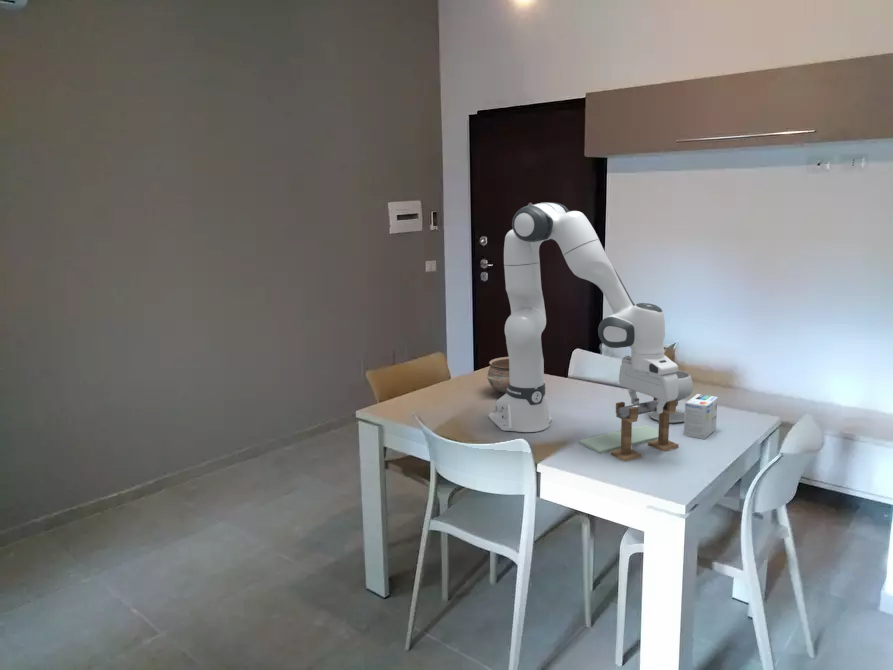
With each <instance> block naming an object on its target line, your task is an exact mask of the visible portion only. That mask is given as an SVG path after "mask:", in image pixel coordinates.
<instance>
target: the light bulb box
mask: <svg viewBox="0 0 893 670" xmlns="http://www.w3.org/2000/svg"><path fill="white" fill-rule="evenodd" d="M718 398H719V397H718V396H713V395H706V394H701V393H696V394H695V395H694V396H692V397H691V398H690V399H689V400H687V401H685V402H684V414H685V420H684V422H683V423H684V425H683V426H684V427H683V436H686V437H690V438H691V437H692V438H696V439H700V440H701V439H702V440H706V439H707V438H708V436H710V435H711V434H712V433H713V432H715V431H716V430H717V416H718V401H719V400H718Z"/></svg>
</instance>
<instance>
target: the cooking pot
mask: <svg viewBox="0 0 893 670" xmlns="http://www.w3.org/2000/svg"><path fill="white" fill-rule="evenodd" d="M488 364H489V367H488V371H487V377H486V380H487V381H488V383H489V385H490V386H491V387H492V388H493V389H494V390H496V391H498V392H500V393H502V394H503V395H505V394H506V391H507V387H508V386H506V385H508V384H506V383H509V356H504V357H503V356H502V357H497V358H494V359H491V360H490V361H489V362H488Z"/></svg>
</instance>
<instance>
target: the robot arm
mask: <svg viewBox="0 0 893 670" xmlns="http://www.w3.org/2000/svg"><path fill="white" fill-rule="evenodd" d="M511 227H512V228H511V229H510V230H509V231H508V232H507V233H506V235H505V237H504V246H503V269H504V280H505V281H504V282H505V291H506V293H507V298H508V301H509V305H510V315H509V316H508V317H507V319H506V321H505V324H504V335H505V340H506V341H505V344H506V349H507V355H508V356H507V357H509V383H506V384H508V385H506V386H508V387H507V391H506V394H503V395H502V396H501V397H499V398H498V399H497V400H496V401H495V407H494V408H495V409H494V410H495V411H492V412H490V413H489V414H488V418H489V420H491V422H492V423H494V424H495V425H496V426H497V427H498V428H499V429H500V430H501V431H506V432H507V431H508V432H509V431H511V432H518V433H519V432H520V433H535V432H541V431H543V430H546V429H548V428H549V427H550V423H551V422H552V421H553V420H552V419H553V418H552V417H551V416H550V414H549V413H550V412H549V403H548V402H549V401H548V397H547V396H546V389H547V388H546V383H545V379H544V377H545V375H544V374H545V372H544V371H545V368H544V364H545V362H544V361H545V360H544V354H543V348H542V347H543V346H542V333H543V332H544V331H545V328H546V325H547V315H546V308H545V300H544V295H543V290H542V279H541V278H542V277H541V262H540V261H541V260H540V246H541V244H542V243H543V242H549V241H555V242H556V243H557V244H558V247H559V249H560V250H561V253H562V256H563V258H564V260H565V262H566V264H567V266H568V268H569V269H570V271H571V272H572V273H573V275H575V276H576V277H578V278H579V279H583V280H586V281H589V282H590V283H593V284H594V285H596V286H597V287H598V288H599V289H600V291H601V292H602V294H603V296H604V297H605V299H606V301H607V302H608V305H609V306H610V308H611V310H612V314H611V315H607V316H606V317H604V318H603V319H602V320H601V321H600V323H599V325H598V328H597V331H598V332H597V333H598V337H599V340H600V342H602V344H603V345H604V346H606V347H608V348H610V349H611V348H612V349H620V348H627V347H629V348H630V349H631V353H630V354H631V355H630V356H629V355H624V357H622V359H621V364H620V368H619V373H618V374H619V375H618V384H620V386H621V387H623V388H626V389H627V390H628V392H627V393H628V395H629V397H630V405H634V404H639V403H640V398H639V397H638V395H637V392H638V393H640V394H643V395H646V396H650V397H651V398H654V397H655V398H657V402H659V403H658V405H657V406H655V407H654V409H655V410H654V411H653V412H655V413H658V414H660V413H662V412H663V406H664V405H665V403H666V402H668V401H673V400H675V399H676V398H677V397H678V377H677V375H676V373H674V372H677V371H678V370H679V366H678V364H677V363H676V362H674V361H673V360H671V359H670V358H669V357H668V356H667V355H666V354H665V348H664V347H665V346H664V340H665V338H666V337H665V336H666V331H665V330H666V325H665V316H664V315H665V314H664V311H663V310H662V308H661V307H659V306H658V305H656V304H653V303H647V302H646V303H645V302H638V303H636V304H635V303H634V302H633V300H632V298H631V296H630V295H629V292H628V291H627V288H626V287H625V285H624V283H623V282H622V279H621V278H620V276H619V274H618V273H617V270H616V269H615V268H614V266H613V264H612V262H611V261H610V259H609V258H608V256H607V254H606V251H605V250H604V247H603V245H602V242H601V241H600V238H599V236H598V233H596V230H595V229H594V227H593V226H592V224H591V222H590V221H589V219H588V218H587V216H586V215H585V214H584V213H583V212H581V211H578V210H569V209H568V208H567V207H566V206H565V205H564V204H561V203H559V202H555V201H554V202H540V203H535V204H530V205H526V206H525V205H524V206H523V207H521V208H520V209H518V210H517V211H516V212H515V214H514V216H513V217H512V221H511Z"/></svg>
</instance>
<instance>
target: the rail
mask: <svg viewBox="0 0 893 670" xmlns="http://www.w3.org/2000/svg"><path fill="white" fill-rule="evenodd" d="M658 403H659V402H657V400H650V401H646V402H645V401H644V402H639V404H630V405H625V407H620V408H618V409H617V415H618V417H619V419H620V418H626V417H629V408H633V407H638V416H639V415H643V414H647V413H652V412H654V410H655V409H654V407H655V406H657V405H658ZM678 405H679V401H678V399H677V398H676V407H677V406H678ZM663 409H667V402H666V403H665V405H664V406H663ZM618 417H617V418H618Z"/></svg>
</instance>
